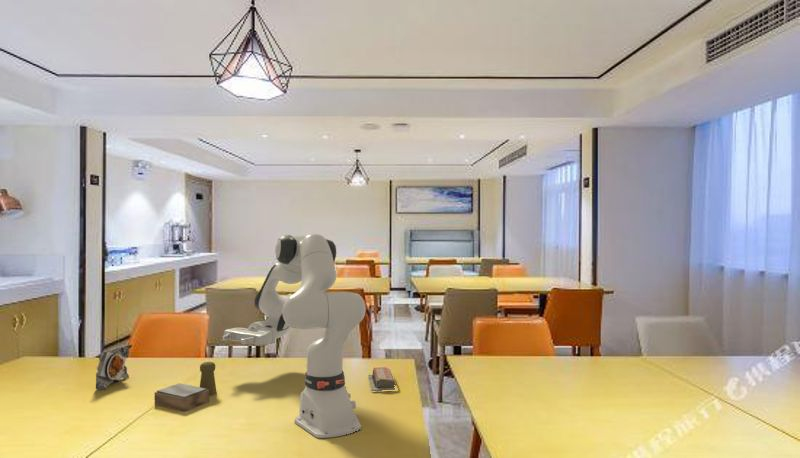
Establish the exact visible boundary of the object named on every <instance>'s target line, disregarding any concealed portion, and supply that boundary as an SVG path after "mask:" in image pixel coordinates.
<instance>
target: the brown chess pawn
mask: <svg viewBox="0 0 800 458" xmlns="http://www.w3.org/2000/svg"><path fill="white" fill-rule="evenodd" d="M199 371H200V373H201V375H200V381H199V387H201V388H206V389H207V390H209V397H211V396H214V395H216V394H217V387H216V384H217V383H216V378H215V371H216V364H215V362H213V361H205V362H202V363H201V364H200V365H199Z"/></svg>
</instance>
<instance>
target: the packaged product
mask: <svg viewBox="0 0 800 458" xmlns="http://www.w3.org/2000/svg"><path fill="white" fill-rule="evenodd" d="M392 375H393V374H392V372H391V369H390V368H389V367H387V366H385V367H381V366H380V367H374V368H373V369H372V374H368V375H367V376H368V381H369V382H370V384H369V388H370V387H371V389H370V392H371V391H382V390H395V388H394V387H395V386H394V385H395V382H396V380H395V381H394V379H395V378H394V379H393V377H394V375H393V376H392Z"/></svg>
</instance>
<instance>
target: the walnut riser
mask: <svg viewBox="0 0 800 458" xmlns="http://www.w3.org/2000/svg"><path fill="white" fill-rule="evenodd" d="M209 397H210V396H209V390H207V389H206V388H201V387H200V386H195V385H191V384H190V385H189V384H186V383H181V382H180V383H176V384H173V385H170V386H167V387H164V388H161V389H158V390H156V391H155V392H154V406H155V405H156V406H160V407H162V408H168V409H172V410H177V411H181V412H188V411H189V410H191V409H194V408H196V407H199V406H202V405H204V404H206V403H209V401H210V400H209Z"/></svg>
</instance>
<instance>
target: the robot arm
mask: <svg viewBox="0 0 800 458" xmlns="http://www.w3.org/2000/svg"><path fill="white" fill-rule="evenodd" d="M274 249H275V250H274V251H275V252H274V253H275V257H276V258H275V259H276V260H277V261H278V262H276V263H275V264H273V265H272V267H271V268H270V269H269V272H268V274H267V275H266V277H265V279H264V281H263V283H262V285H261V288H259V291H258V292H257V293H256V295H255V297H254V302H253V303H254V304H253V305H254V307H255V308H256V309H258V310H259V311H260V312H261V313H263V314H264V315H265V316H266V317H267V319H266V320H259V321H256V322H253V323H251V324H250V325H249V326H248V327H247V328H246V327H233V328H227V329H225V330H224V332H223V336H222V339H221V340H222V341H223V342H227V341H233V342H234V341H235V342H240V343H241V344H242V345H247V344H253V345H256V346H258V345H259V346H264V345H270V344H271V345H273V344H276V340H277V339H279V338H282V337H283V336H285V335H287V333H289V331H290V329H291V328H293V329H297V330H299V329H300V330H313V329H325V331H324V333H323V334H322V336H320V337H319V338H317V339H315V340H314V341H312V342H311V343H310V344H309V346H308V347H307V349H306V372H305V376H304V384H305V388H303V390H302V392H301V393H300V396H299V398H300V399H299V412H298V414H299V415H298V416H296V417H295V418H294V423H295V424H296V425H297V426H299V427H301V428H302V429H303V430H305V431H307V432H308V433H310V434H311V435H312V436H313V437H315V438H316V439H317V438H320V439H324V438H325V439H327V438H335V437H336V438H337V437H341V436H347V435H350V433H351V434H354V433H356V432H355V431H357V432H359V431H360V430H362V425H361V423H360V421H359V418H358V417H357V415H356V413H355V411H354V410H355V409H356V408H357V405H356V404H357V402H356V401H355V400H351V397H352V396H351V393H349V392H348V390H347V386H345V385H346V380H345V379H346V377H345V372H344V370H343V359H344V348H345V344H346V342H347V339H348V337H349V335H350V333H351V332H352V331H353V330H354V329H355V328H356V326H357V325H359V324H360V323H361V322H362V321H363V320H364V318H365V315H366V310H367V309H366V308H367V307H366V303H365V300H364V298H363V297H362V296H361V294H359V293H356V292H351V291H350V292H349V291H329V292H328V290H330V288H332V286H334V285H335V282H336V280H337V272H336V267H335V261H336V258H337V246H336V244H335V242H334V241H333V240H330V239H327V238H325V237H324V236H323V235H321V234H318V233H311V234H308V235H291V234H285V235H282V236H280V237H279V238H278V239H277V241H276V244H275V248H274ZM279 282H282V283H284V284H287V285H288V284H289V285H295V284H298V283H300V286H299V287H298V289H297V290H296V291H295V292H294V293H293V294H292V295H289V296H288V297H287V298H286V299H285V298H283V297H282V296H281V295H280V294H279V293H278V292H277V289H276V288H277V286H278V284H279ZM359 429H360V430H359ZM358 430H359V431H358ZM353 432H354V433H353ZM346 434H347V435H346Z"/></svg>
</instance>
